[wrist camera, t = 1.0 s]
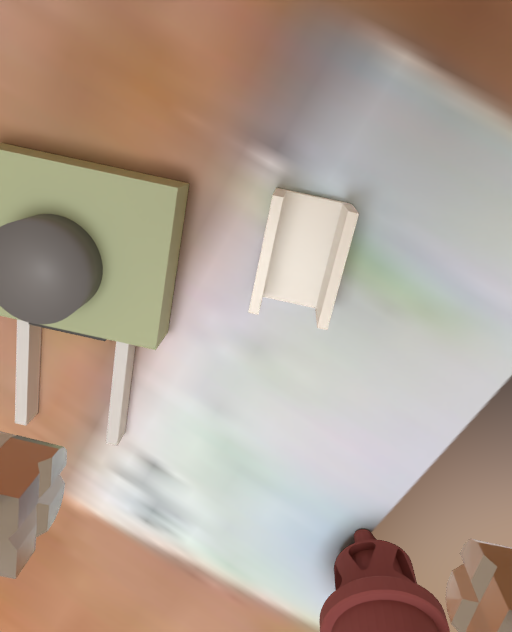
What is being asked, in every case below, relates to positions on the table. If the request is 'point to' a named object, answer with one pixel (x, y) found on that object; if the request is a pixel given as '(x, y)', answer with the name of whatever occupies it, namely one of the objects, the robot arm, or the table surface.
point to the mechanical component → (379, 592)
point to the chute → (304, 252)
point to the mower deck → (117, 230)
